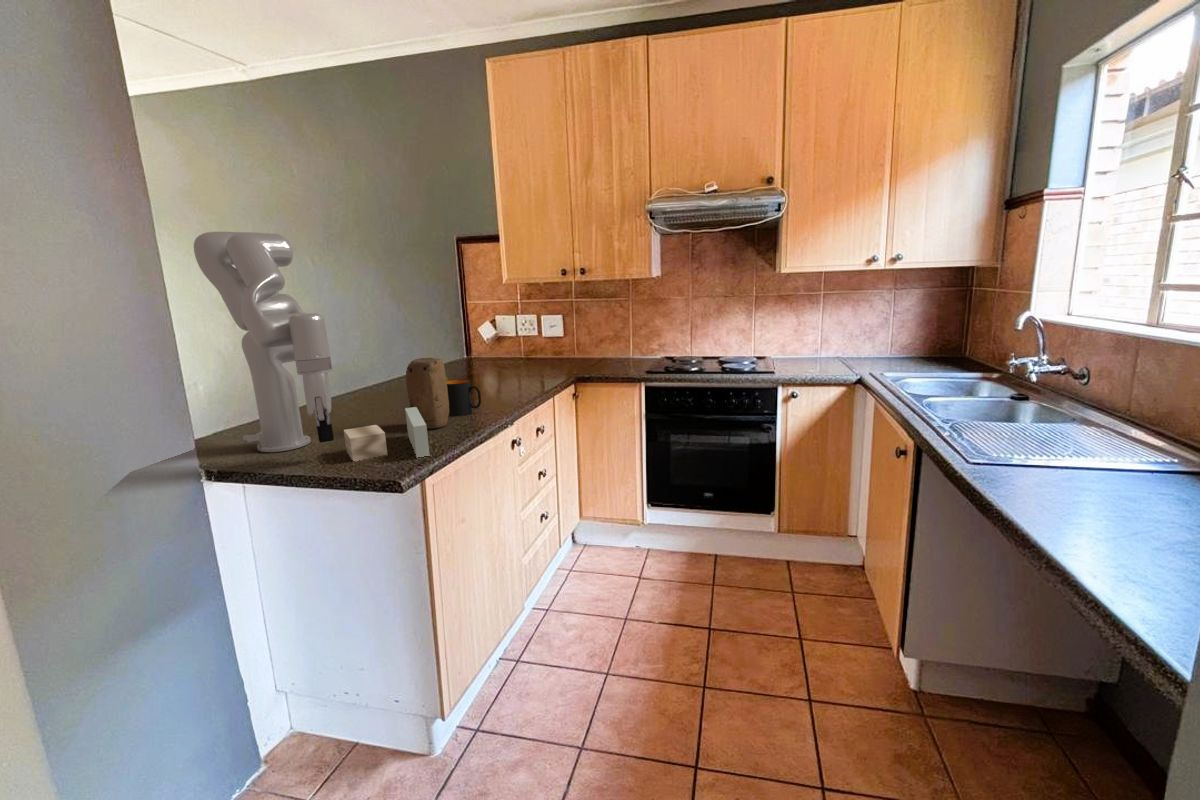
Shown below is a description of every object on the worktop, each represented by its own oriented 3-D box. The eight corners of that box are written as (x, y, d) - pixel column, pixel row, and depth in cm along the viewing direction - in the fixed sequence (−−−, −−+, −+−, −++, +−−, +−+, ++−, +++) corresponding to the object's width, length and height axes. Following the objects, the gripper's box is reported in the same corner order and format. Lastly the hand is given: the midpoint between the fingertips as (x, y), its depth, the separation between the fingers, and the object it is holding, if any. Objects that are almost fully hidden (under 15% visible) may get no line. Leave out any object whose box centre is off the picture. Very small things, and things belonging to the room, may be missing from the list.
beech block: (353, 462, 136) (350, 438, 134) (346, 452, 144) (343, 429, 143) (387, 456, 140) (384, 432, 139) (379, 446, 148) (376, 424, 147)
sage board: (417, 458, 136) (413, 426, 135) (408, 436, 156) (405, 408, 154) (429, 456, 137) (426, 424, 136) (419, 434, 157) (416, 406, 155)
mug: (477, 416, 175) (474, 384, 173) (441, 416, 178) (438, 384, 175) (487, 410, 183) (484, 379, 181) (452, 410, 185) (449, 379, 183)
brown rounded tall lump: (453, 424, 167) (447, 357, 163) (437, 430, 161) (430, 361, 156) (423, 421, 171) (416, 356, 167) (407, 428, 164) (399, 360, 160)
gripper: (299, 364, 139) (311, 436, 142) (293, 371, 125) (307, 450, 129) (332, 361, 141) (343, 432, 145) (330, 367, 128) (343, 445, 132)
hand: (326, 440), depth 137 cm, fingers closed
